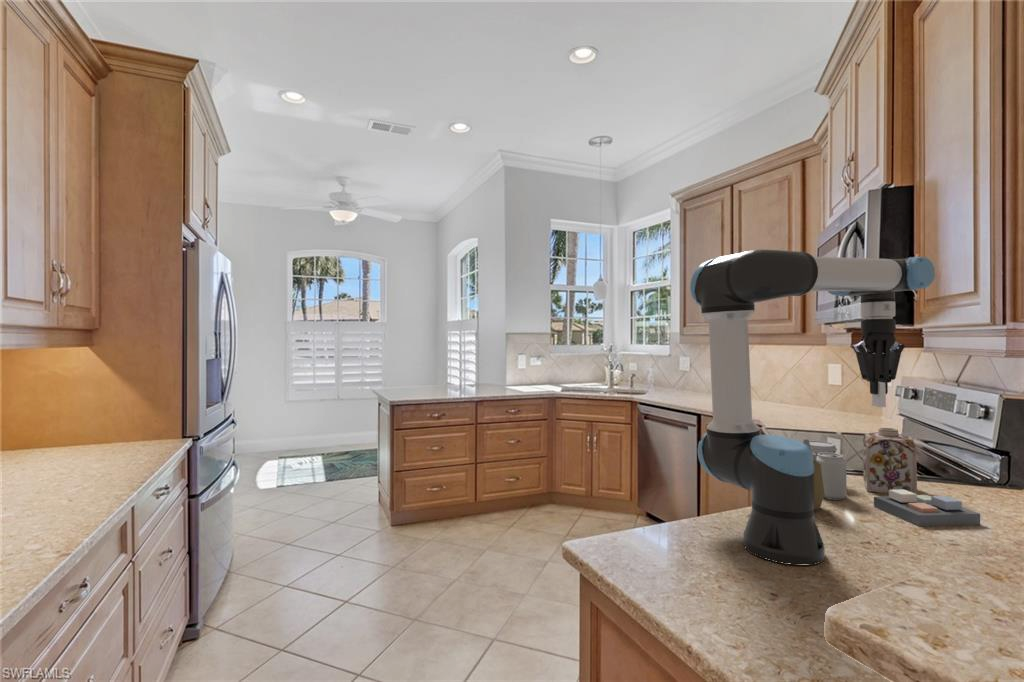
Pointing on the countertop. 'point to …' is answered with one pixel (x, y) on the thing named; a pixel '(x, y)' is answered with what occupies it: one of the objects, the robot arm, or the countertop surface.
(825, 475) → the can
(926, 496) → the sage key
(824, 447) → the disposable coffee cup
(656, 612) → the countertop surface
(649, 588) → the countertop surface
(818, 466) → the squeeze bottle
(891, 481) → the decorative jar
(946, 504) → the slate key
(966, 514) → the keypad
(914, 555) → the countertop surface
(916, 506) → the terracotta key
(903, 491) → the cream key
